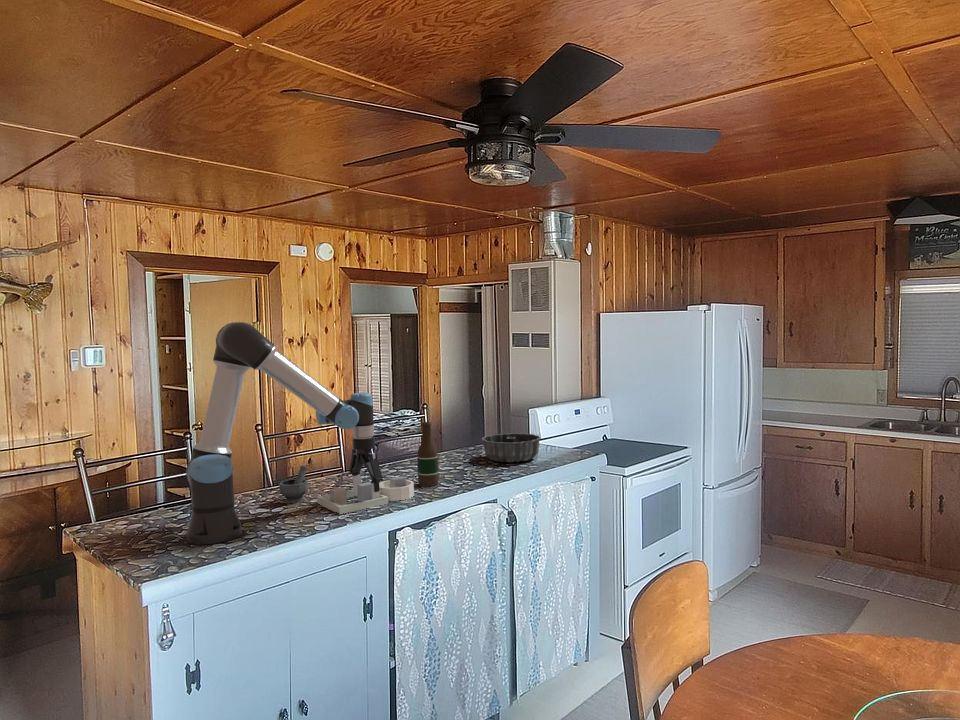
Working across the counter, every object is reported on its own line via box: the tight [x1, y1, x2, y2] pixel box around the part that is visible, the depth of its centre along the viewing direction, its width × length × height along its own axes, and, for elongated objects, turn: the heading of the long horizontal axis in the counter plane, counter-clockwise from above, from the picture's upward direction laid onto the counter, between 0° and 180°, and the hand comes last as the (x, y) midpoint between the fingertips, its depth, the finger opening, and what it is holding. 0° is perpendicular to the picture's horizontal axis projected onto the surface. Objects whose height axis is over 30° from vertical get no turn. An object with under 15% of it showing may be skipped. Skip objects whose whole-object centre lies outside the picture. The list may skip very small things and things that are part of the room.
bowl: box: [379, 479, 415, 502], centre depth 233 cm, size 13×13×4 cm
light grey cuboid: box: [357, 481, 372, 502], centre depth 228 cm, size 4×3×6 cm
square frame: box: [316, 489, 389, 515], centre depth 225 cm, size 18×18×2 cm
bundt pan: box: [481, 432, 541, 463], centre depth 292 cm, size 26×26×10 cm
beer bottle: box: [416, 421, 439, 487], centre depth 249 cm, size 8×8×24 cm
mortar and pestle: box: [278, 464, 309, 504], centre depth 231 cm, size 11×9×12 cm
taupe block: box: [329, 486, 348, 506], centre depth 222 cm, size 4×3×6 cm
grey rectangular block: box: [389, 476, 407, 488], centre depth 232 cm, size 4×3×6 cm
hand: (366, 497), depth 228 cm, fingers open, 13 cm apart
